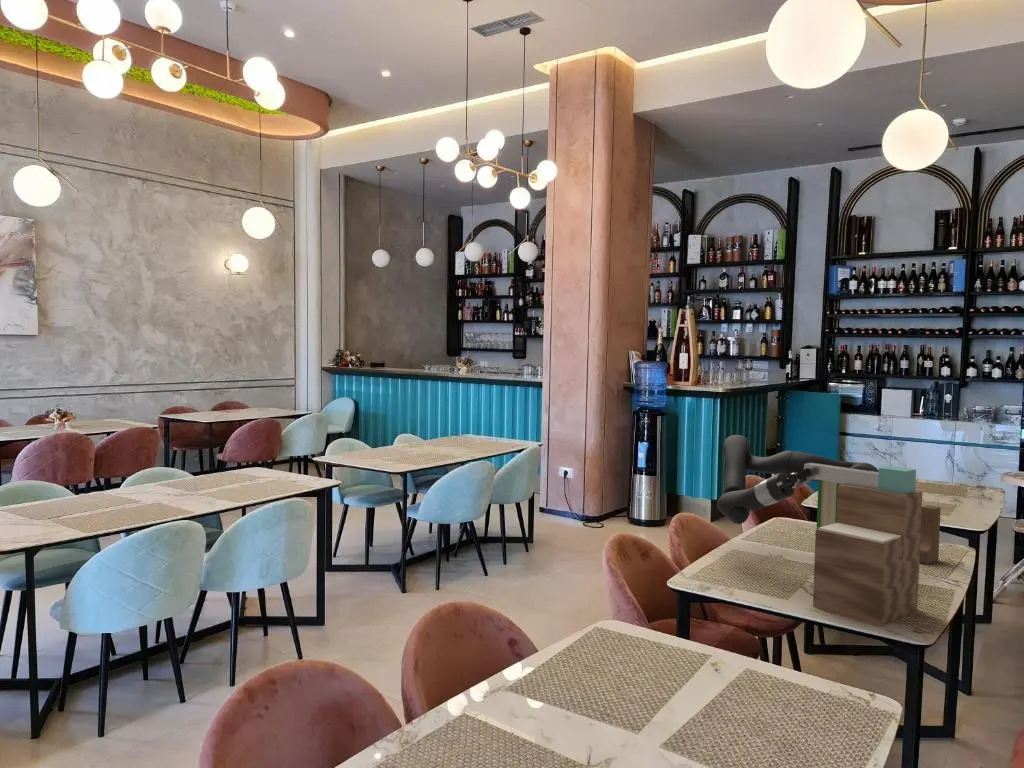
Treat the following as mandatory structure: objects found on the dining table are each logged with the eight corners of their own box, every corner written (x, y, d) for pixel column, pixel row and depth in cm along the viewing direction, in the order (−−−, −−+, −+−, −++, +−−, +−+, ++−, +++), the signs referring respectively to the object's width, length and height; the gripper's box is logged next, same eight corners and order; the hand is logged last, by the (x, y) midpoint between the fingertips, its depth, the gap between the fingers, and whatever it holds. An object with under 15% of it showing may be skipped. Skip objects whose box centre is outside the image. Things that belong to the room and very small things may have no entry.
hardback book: (837, 544, 264) (839, 478, 263) (816, 540, 269) (818, 475, 268) (853, 535, 277) (855, 472, 276) (833, 532, 282) (835, 470, 281)
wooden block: (927, 565, 240) (929, 510, 239) (912, 561, 244) (914, 507, 243) (938, 560, 246) (941, 507, 245) (924, 557, 249) (926, 504, 248)
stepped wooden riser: (851, 591, 212) (855, 481, 211) (917, 609, 198) (922, 491, 196) (812, 606, 199) (817, 489, 198) (880, 626, 185) (885, 500, 183)
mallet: (812, 475, 219) (813, 455, 218) (915, 491, 196) (916, 469, 196) (801, 477, 215) (802, 457, 215) (904, 494, 192) (905, 471, 192)
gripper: (791, 498, 228) (836, 479, 217) (765, 504, 220) (810, 484, 208) (781, 476, 231) (825, 456, 220) (755, 480, 222) (799, 459, 211)
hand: (818, 469), depth 214 cm, fingers open, 8 cm apart
